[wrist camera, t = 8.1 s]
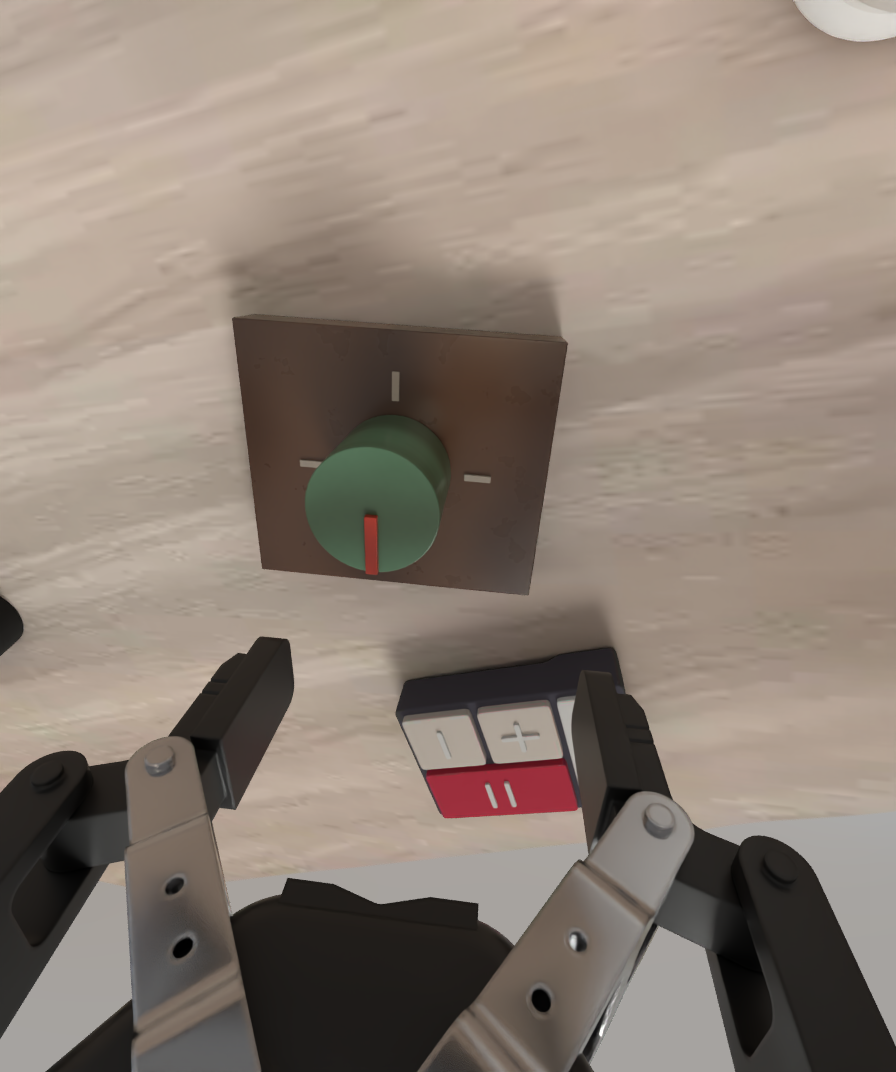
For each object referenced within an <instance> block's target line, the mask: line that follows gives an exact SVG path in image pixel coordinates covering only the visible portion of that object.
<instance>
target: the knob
mask: <svg viewBox="0 0 896 1072" xmlns="http://www.w3.org/2000/svg"><path fill="white" fill-rule="evenodd" d="M450 479H451V467H450V461H449V458H448V454H447V452H446V450H445V448H444V446H443V444H442V443H441V441H440V440H439V439H438V437H437V436H436V435H435V434H434V433H433V432H432V431H431V430H430V429H429V428H427V427H426V426H425V425H423V424H421V423H420V422H418V421H416V420H413V419H411V418H408V417H404V416H398V415H382V416H377V417H373V418H371V419H368V420H366V421H364V422H363V423H361V424H359V425H358V426H357V427H356V428H354V429H353V430H352V431H351V432H350V433H349V435H348V436H347V437H346V438H345V439H344V440H343V441H342V442H341V443H340V444H339V445H338V446H337V447H336V448H335V449H334V450H333V451H332V452H331V453H330V454H329V455H328V456H327V457H326V459H325V460H324V461H323V462H322V463H321V464H320V465H319V466H318V467H317V468H316V470H315V471H314V473H313V474H312V476H311V478H310V480H309V482H308V485H307V489H306V493H305V511H306V517H307V520H308V524H309V526H310V528H311V531H312V532H313V534H314V536H315V537H316V539H317V540H318V542H319V543H320V544H321V546H322V547H323V548H324V549H325V550H326V551H327V552H328V553H330V554H331V555H332V556H333V557H335V558H336V559H338V560H339V561H341V562H343V563H345V564H347V565H349V566H351V567H354V568H356V569H360V570H364V571H366V574H373V575H378V572H389V571H394V570H398V569H401V568H404V567H407V566H409V565H411V564H413V563H414V562H416V561H417V560H419V559H420V558H421V557H422V556H423V555H424V554H425V553H426V552H427V551H428V550H429V549H430V547H431V545H432V544H433V542H434V540H435V538H436V536H437V533H438V529H439V525H440V521H441V517H442V513H443V509H444V505H445V501H446V497H447V493H448V489H449V485H450Z"/></svg>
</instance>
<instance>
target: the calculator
mask: <svg viewBox="0 0 896 1072" xmlns="http://www.w3.org/2000/svg"><path fill="white" fill-rule="evenodd" d="M582 670H589V671H599V672H609V673H611V674H612V677H613V680H614V684H615V688H616V692H617V693H618V694H626V693H625V688H624V683H623V679H622V674H621V670H620V665H619V661H618V657H617V653H616V651H615V650H614V649H612V648H606V649H598V650H591V651H584V652H576V653H569V654H562V655H558V656H556V657H554V658H553V659H551V660H549V661H547V662H545V663H539V664H531V665H524V666H516V667H509V668H501V669H494V670H486V671H478V672H471V673H463V674H456V675H448V676H441V677H433V678H426V679H418V680H411V681H407V682H405V683H404V686H403V689H402V692H401V696H400V699H399V702H398V706H397V709H396V717H397V719H398V721H399V724H400V726H401V728H402V730H403V732H404V735H405V737H406V739H407V741H408V744H409V746H410V748H411V750H412V753H413V755H414V757H415V759H416V761H417V764H418V766H419V768H420V770H421V773H422V775H423V777H424V779H425V782H426V784H427V786H428V788H429V790H430V793H431V795H432V797H433V799H434V802H435V804H436V806H437V808H438V810H439V812H440V814H442V815H443V817H444V818H463V817H480V816H497V815H514V814H530V813H547V812H564V811H575V810H577V809H578V808H579V807H582V805H581V798H580V791H579V784H578V777H577V770H576V763H575V756H574V749H573V742H572V734H571V720H572V711H573V706H574V701H575V696H576V692H577V687H578V682H579V677H580V673H581V671H582Z"/></svg>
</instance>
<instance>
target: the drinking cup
mask: <svg viewBox="0 0 896 1072" xmlns="http://www.w3.org/2000/svg"><path fill="white" fill-rule="evenodd" d="M22 633H23V624H22V621H21V618H20V616H19V615H18V613H17V612H16V610H15V609H14V608H13V607H12V606H11V605H10V604H9V603H8V602H6V601H5V600H3V599H2V598H0V656H1V655H2V654H3V653H4V652H5V651H6V650H7V649H9V648H10V647H11V646H12V645H13V644H14V643H15V642H16V641H17V640H18V639H19V638H20V637H21V635H22Z"/></svg>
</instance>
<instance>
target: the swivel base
mask: <svg viewBox="0 0 896 1072" xmlns="http://www.w3.org/2000/svg"><path fill="white" fill-rule="evenodd" d="M232 321H233V329H234V337H235V346H236V354H237V362H238V371H239V379H240V387H241V396H242V404H243V413H244V421H245V429H246V438H247V446H248V454H249V463H250V471H251V479H252V488H253V496H254V504H255V513H256V521H257V529H258V538H259V546H260V554H261V563H262V569H269V570H279V571H289V572H299V573H309V574H319V575H329V576H339V577H349V578H359V579H369V580H379V581H389V582H399V583H409V584H419V585H429V586H439V587H449V588H459V589H469V590H479V591H489V592H499V593H509V594H519V595H529V589H530V583H531V576H532V570H533V564H534V557H535V551H536V544H537V538H538V532H539V525H540V519H541V512H542V506H543V499H544V493H545V487H546V480H547V474H548V467H549V461H550V454H551V448H552V442H553V435H554V429H555V422H556V416H557V410H558V403H559V397H560V390H561V384H562V377H563V371H564V365H565V358H566V352H567V345H568V343H567V342H566V341H565V340H564V339H563V338H562V337H558V336H545V335H531V334H517V333H504V332H490V331H476V330H463V329H449V328H435V327H422V326H408V325H394V324H381V323H367V322H353V321H340V320H326V319H313V318H299V317H285V316H272V315H258V314H253V315H247V316H240V317H234V318H232ZM382 415H398V416H404V417H408V418H411V419H413V420H416V421H418V422H420V423H421V424H423V425H425V426H426V427H427V428H429V429H430V430H431V431H432V432H433V433H434V434H435V435H436V436H437V437H438V439H439V440H440V441H441V443H442V444H443V446H444V448H445V450H446V452H447V454H448V458H449V461H450V467H451V479H450V485H449V489H448V493H447V497H446V501H445V505H444V509H443V513H442V517H441V521H440V525H439V529H438V533H437V536H436V538H435V540H434V542H433V544H432V545H431V547H430V549H429V550H428V551H427V552H426V553H425V554H424V555H423V556H422V557H421V558H420V559H419V560H417V561H416V562H414V563H413V564H411V565H409V566H407V567H404V568H401V569H398V570H394V571H389V572H378V575H373V574H366V571H364V570H360V569H356V568H354V567H351V566H349V565H347V564H345V563H343V562H341V561H339V560H338V559H336V558H335V557H333V556H332V555H331V554H330V553H328V552H327V551H326V550H325V549H324V548H323V547H322V546H321V544H320V543H319V542H318V540H317V539H316V537H315V536H314V534H313V532H312V531H311V528H310V526H309V524H308V520H307V517H306V511H305V493H306V489H307V485H308V482H309V480H310V478H311V476H312V474H313V473H314V471H315V470H316V468H317V467H318V466H319V465H320V464H321V463H322V462H323V461H324V460H325V459H326V457H327V456H328V455H329V454H330V453H331V452H332V451H333V450H334V449H335V448H336V447H337V446H338V445H339V444H340V443H341V442H342V441H343V440H344V439H345V438H346V437H347V436H348V435H349V433H350V432H351V431H352V430H353V429H354V428H356V427H357V426H358V425H359V424H361V423H363V422H364V421H366V420H368V419H371V418H373V417H377V416H382Z"/></svg>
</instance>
